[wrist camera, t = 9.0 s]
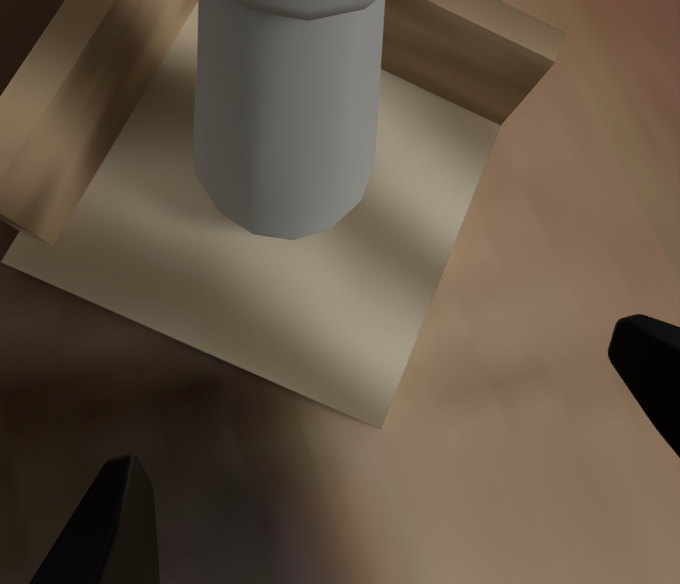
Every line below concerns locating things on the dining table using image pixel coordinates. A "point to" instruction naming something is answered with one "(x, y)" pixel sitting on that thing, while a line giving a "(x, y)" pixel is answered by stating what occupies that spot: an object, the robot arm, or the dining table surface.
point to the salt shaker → (287, 110)
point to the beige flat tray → (224, 234)
